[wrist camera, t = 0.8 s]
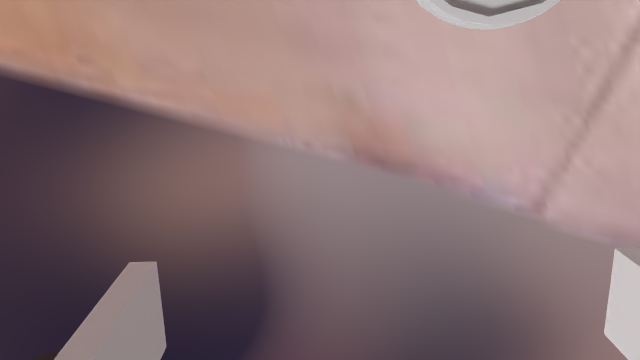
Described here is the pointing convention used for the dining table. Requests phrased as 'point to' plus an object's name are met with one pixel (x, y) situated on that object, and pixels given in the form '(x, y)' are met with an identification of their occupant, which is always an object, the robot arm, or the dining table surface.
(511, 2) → the brown jar with lid
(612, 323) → the robot arm
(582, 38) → the dining table surface
